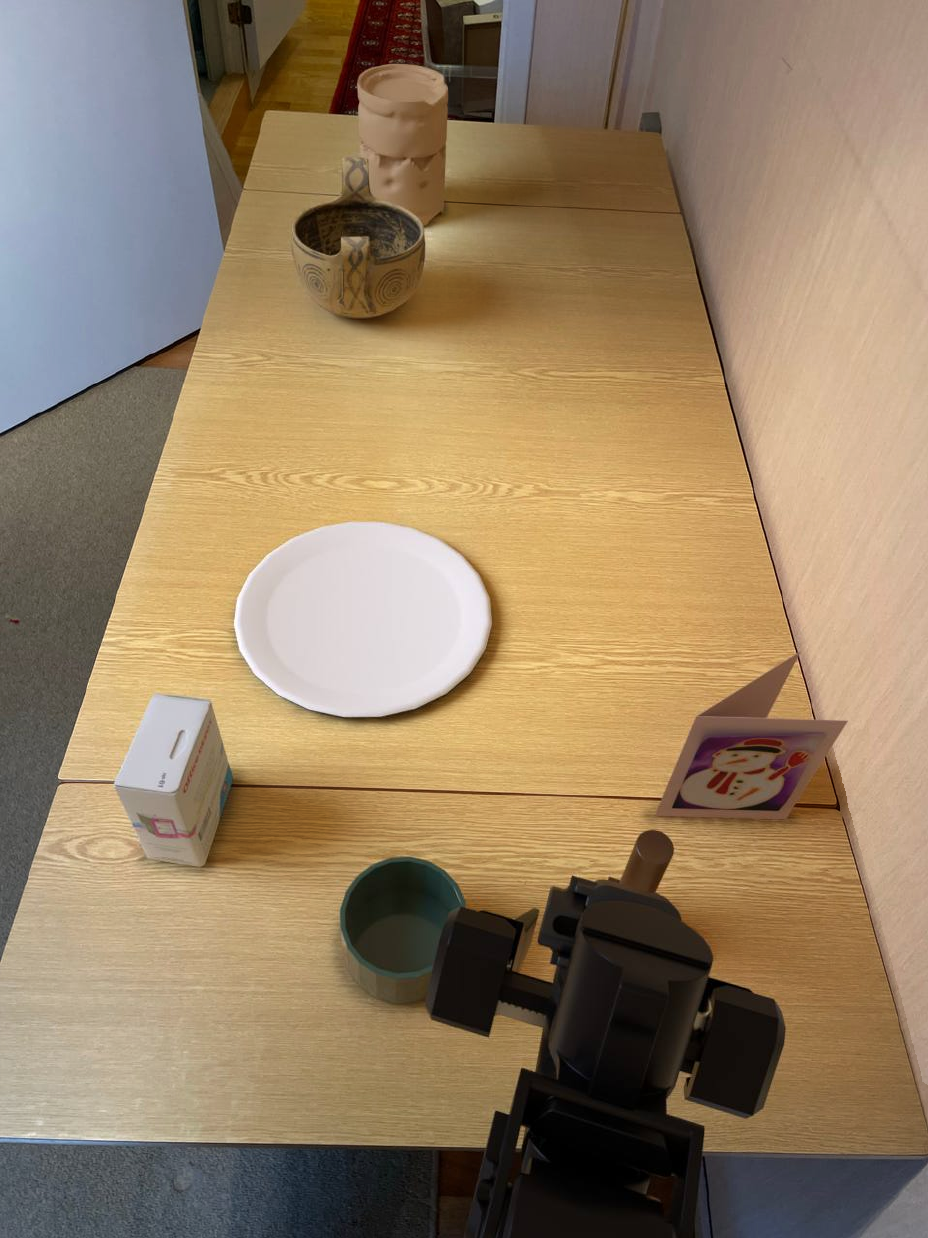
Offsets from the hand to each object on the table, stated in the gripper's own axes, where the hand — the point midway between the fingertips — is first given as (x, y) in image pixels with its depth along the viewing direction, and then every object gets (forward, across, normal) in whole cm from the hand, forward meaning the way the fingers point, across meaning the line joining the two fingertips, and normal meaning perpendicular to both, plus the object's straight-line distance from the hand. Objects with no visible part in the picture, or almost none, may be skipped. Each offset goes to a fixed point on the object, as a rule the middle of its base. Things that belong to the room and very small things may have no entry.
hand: (606, 936), depth 62 cm
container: (+95, +50, -56) cm, 121 cm away
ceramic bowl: (+74, +47, -40) cm, 96 cm away
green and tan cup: (+10, +14, +11) cm, 20 cm away
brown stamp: (+15, -2, +7) cm, 17 cm away
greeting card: (+27, -8, -2) cm, 28 cm away
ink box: (+14, +34, +8) cm, 38 cm away
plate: (+34, +28, -8) cm, 44 cm away
